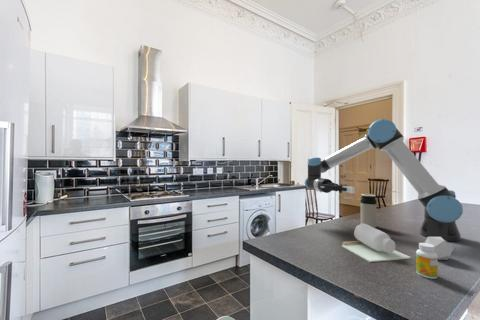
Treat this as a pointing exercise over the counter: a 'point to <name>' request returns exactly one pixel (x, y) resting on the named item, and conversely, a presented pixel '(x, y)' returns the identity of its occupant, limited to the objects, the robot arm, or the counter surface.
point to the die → (440, 247)
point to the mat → (374, 253)
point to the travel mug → (369, 210)
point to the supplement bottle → (427, 261)
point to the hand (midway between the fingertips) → (353, 190)
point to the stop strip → (351, 242)
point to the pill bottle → (374, 238)
